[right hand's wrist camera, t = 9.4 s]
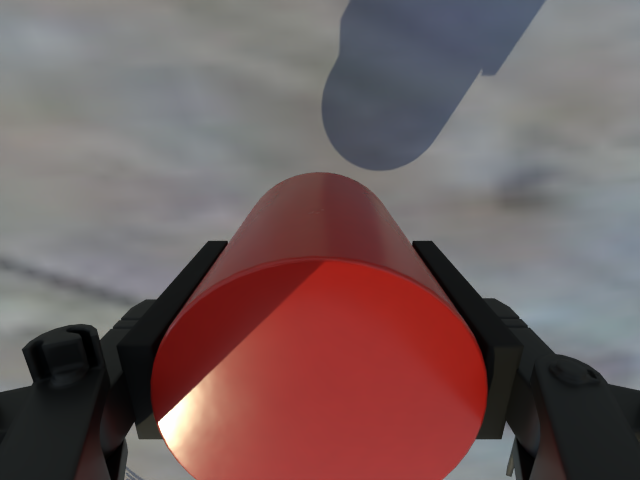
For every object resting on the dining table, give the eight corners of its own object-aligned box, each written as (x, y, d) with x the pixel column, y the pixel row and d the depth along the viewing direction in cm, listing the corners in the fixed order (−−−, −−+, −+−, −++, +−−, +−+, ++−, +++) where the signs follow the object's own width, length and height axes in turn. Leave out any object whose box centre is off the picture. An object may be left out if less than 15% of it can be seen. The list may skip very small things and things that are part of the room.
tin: (252, 315, 18) (180, 526, 9) (235, 174, 15) (110, 264, 6) (392, 310, 18) (469, 519, 9) (398, 169, 15) (515, 250, 6)
